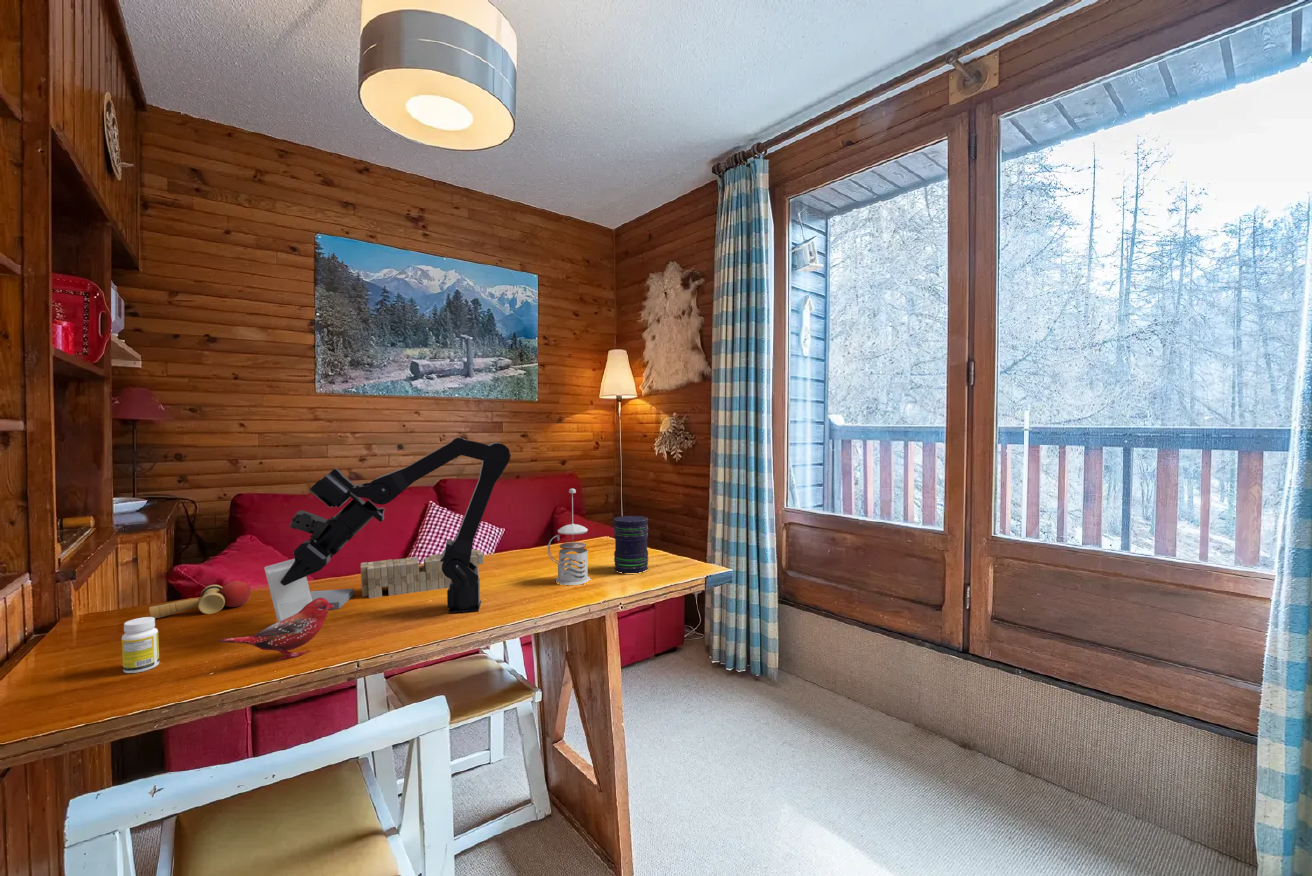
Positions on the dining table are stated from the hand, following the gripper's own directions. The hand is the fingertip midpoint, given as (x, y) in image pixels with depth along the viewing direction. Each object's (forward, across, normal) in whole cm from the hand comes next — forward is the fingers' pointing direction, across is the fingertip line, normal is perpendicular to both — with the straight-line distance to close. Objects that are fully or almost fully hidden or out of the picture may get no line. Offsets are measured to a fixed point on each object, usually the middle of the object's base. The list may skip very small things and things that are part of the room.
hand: (288, 578), depth 117 cm
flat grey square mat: (+5, -16, +9) cm, 20 cm away
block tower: (-10, -22, +25) cm, 35 cm away
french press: (-37, -14, +51) cm, 64 cm away
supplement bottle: (+21, +13, -6) cm, 26 cm away
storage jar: (-50, -18, +64) cm, 83 cm away
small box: (+6, 0, +8) cm, 10 cm away
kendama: (+23, -19, -8) cm, 31 cm away
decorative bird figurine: (+5, +18, +10) cm, 21 cm away
